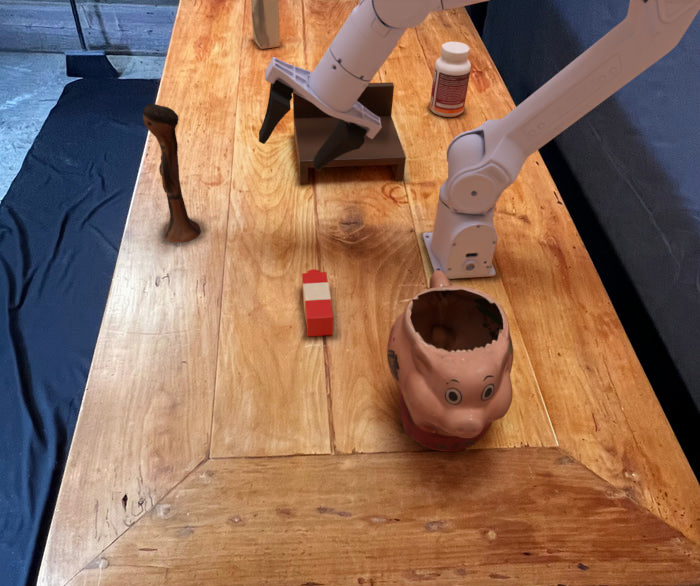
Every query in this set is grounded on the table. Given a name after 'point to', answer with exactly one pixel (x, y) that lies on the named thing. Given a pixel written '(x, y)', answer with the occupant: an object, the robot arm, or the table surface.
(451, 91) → the pill bottle
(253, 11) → the box
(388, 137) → the shelf
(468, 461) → the table surface
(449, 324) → the decorative planter
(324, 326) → the red and white block
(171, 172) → the figurine
